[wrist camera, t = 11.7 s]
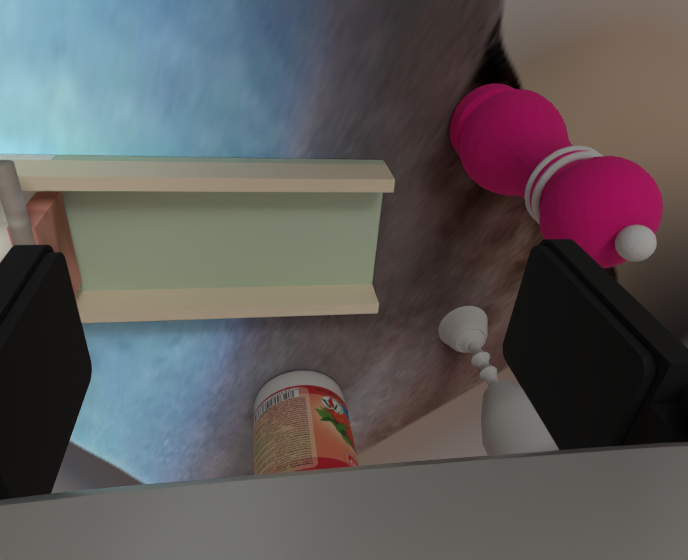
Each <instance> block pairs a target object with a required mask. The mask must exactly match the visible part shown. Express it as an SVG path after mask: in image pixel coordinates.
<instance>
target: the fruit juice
mask: <svg viewBox="0 0 688 560" xmlns="http://www.w3.org/2000/svg"><path fill="white" fill-rule="evenodd" d="M253 464H254V475H259V474H270V473H282V472H293V471H305V470H317V469H329V468H341V467H353V466H359V465H358V460H357V455H356V450H355V445H354V440H353V436H352V431H351V426H350V421H349V416H348V412H347V407H346V402H345V398H344V396H343V393H342V391H341V389H340V387H339V386H338V385H337V383H336V382H335V381H333V380H332V379H331V378H330V377H328V376H326V375H324V374H321V373H318V372H314V371H306V370H300V371H292V372H288V373H284V374H281V375H279V376H277V377H275V378H273V379H271V380H270V381H269V382H267V383H266V384H265V385H264V386H263V387H262V388H261V390H260V391H259V393H258V394H257V397H256V399H255V402H254V408H253Z"/></svg>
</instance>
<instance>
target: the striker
mask: <svg viewBox="0 0 688 560" xmlns="http://www.w3.org/2000/svg"><path fill="white" fill-rule="evenodd" d="M0 199H1V203H2V206H3V209H4V212H5V216H6V219H7V222H8V227H7V230H8V234H9V237H10V240H11V244H12V247H13V246H14V245H50V246H51V247H52V248H53V250H54V252H62V253H63V254H64V256H65V259H66V262H67V266H68V270H69V274H70V278H71V282H72V287H73V291H74V295H75V294H76V292H77V290H78V288H79V286H80V283H81V277H80V272H79V268H78V264H77V260H76V255H75V251H74V247H73V242H72V238H71V234H70V230H69V225H68V221H67V217H66V212H65V208H64V204H63V200H62V195H61V192H36V193H35V194H34V195H33V197H32V198H31V199H30V200H29V201H28V203H27V204H25V200H24V197H23V193H22V189H21V186H20V182H19V179H18V175H17V171H16V168H15V164H14V162H13V161H11V160H0Z"/></svg>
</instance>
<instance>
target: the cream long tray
mask: <svg viewBox="0 0 688 560" xmlns="http://www.w3.org/2000/svg"><path fill="white" fill-rule="evenodd" d="M0 160H11V161H13V162H14V164H15V168H16V171H17V175H18V179H19V182H20V186H21V189H22V193H23V197H24V200H25V204H27V203H28V201H29V200H30V199H31V198H32V197H33V195H34V194H35V193H36V192H61V195H62V200H63V204H64V208H65V212H66V217H67V221H68V225H69V230H70V234H71V238H72V242H73V247H74V251H75V255H76V260H77V264H78V268H79V272H80V277H81V283H80V286H79V288H78V290H77V292H76V294H75V299H76V303H77V307H78V311H79V315H80V319H81V323H107V322H136V321H165V320H195V319H224V318H254V317H283V316H313V315H342V314H372V313H378V308H379V302H378V299H377V296H376V294H375V291H374V288H373V285H372V280H373V272H374V263H375V255H376V247H377V238H378V230H379V221H380V213H381V204H382V196H383V192H394V184H395V179H394V177H393V175H392V173H391V172H390V170H389V168H388V167H387V165H386V163H385V162H384V160H354V159H286V158H218V157H150V156H82V155H14V154H0ZM0 222H4V223H8V222H7V219H6V216H5V212H4V209H3V206H2V203H1V199H0Z"/></svg>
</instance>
